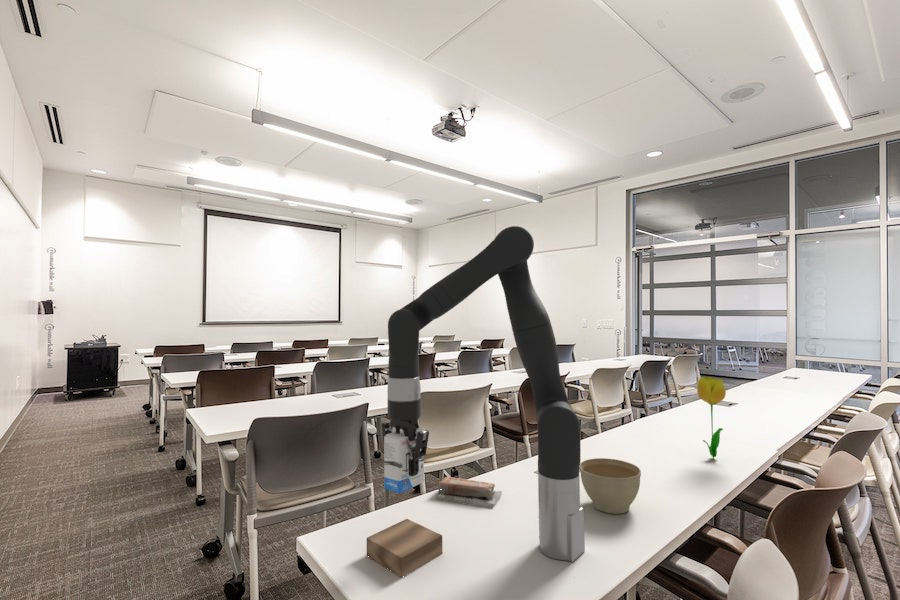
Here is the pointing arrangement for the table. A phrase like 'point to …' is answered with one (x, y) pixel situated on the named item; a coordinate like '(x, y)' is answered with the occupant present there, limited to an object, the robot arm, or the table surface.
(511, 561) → the table surface
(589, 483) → the planter bowl
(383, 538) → the walnut base
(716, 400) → the flower
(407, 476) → the ink box
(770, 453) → the table surface
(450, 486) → the packaged product
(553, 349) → the robot arm
